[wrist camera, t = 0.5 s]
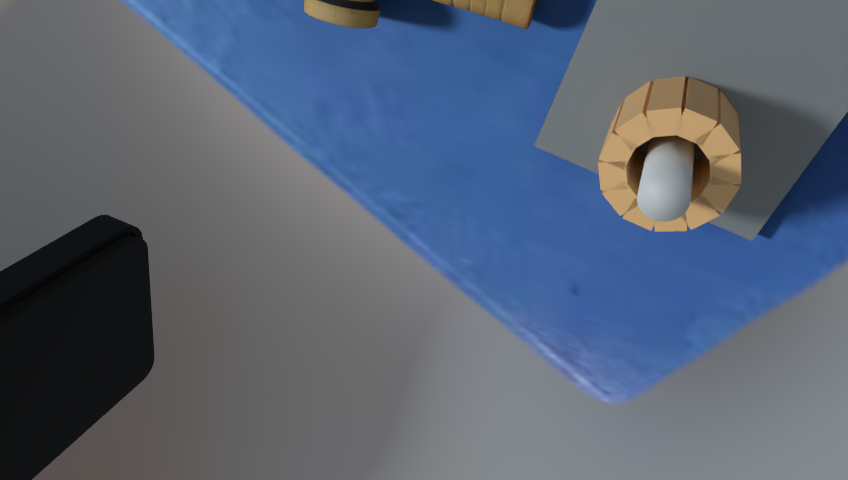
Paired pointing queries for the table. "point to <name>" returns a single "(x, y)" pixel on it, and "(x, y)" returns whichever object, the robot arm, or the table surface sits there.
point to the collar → (667, 116)
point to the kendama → (356, 6)
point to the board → (717, 66)
